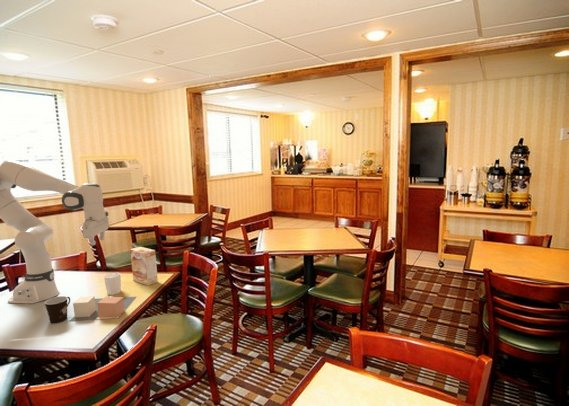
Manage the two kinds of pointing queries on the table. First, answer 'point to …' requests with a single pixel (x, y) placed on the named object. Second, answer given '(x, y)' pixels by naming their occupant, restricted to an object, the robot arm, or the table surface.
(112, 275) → the white cup
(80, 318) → the mat
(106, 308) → the salmon rectangular box
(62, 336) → the table surface
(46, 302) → the coffee mug
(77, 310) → the pale beige cube
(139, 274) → the coffeecake box
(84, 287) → the table surface
